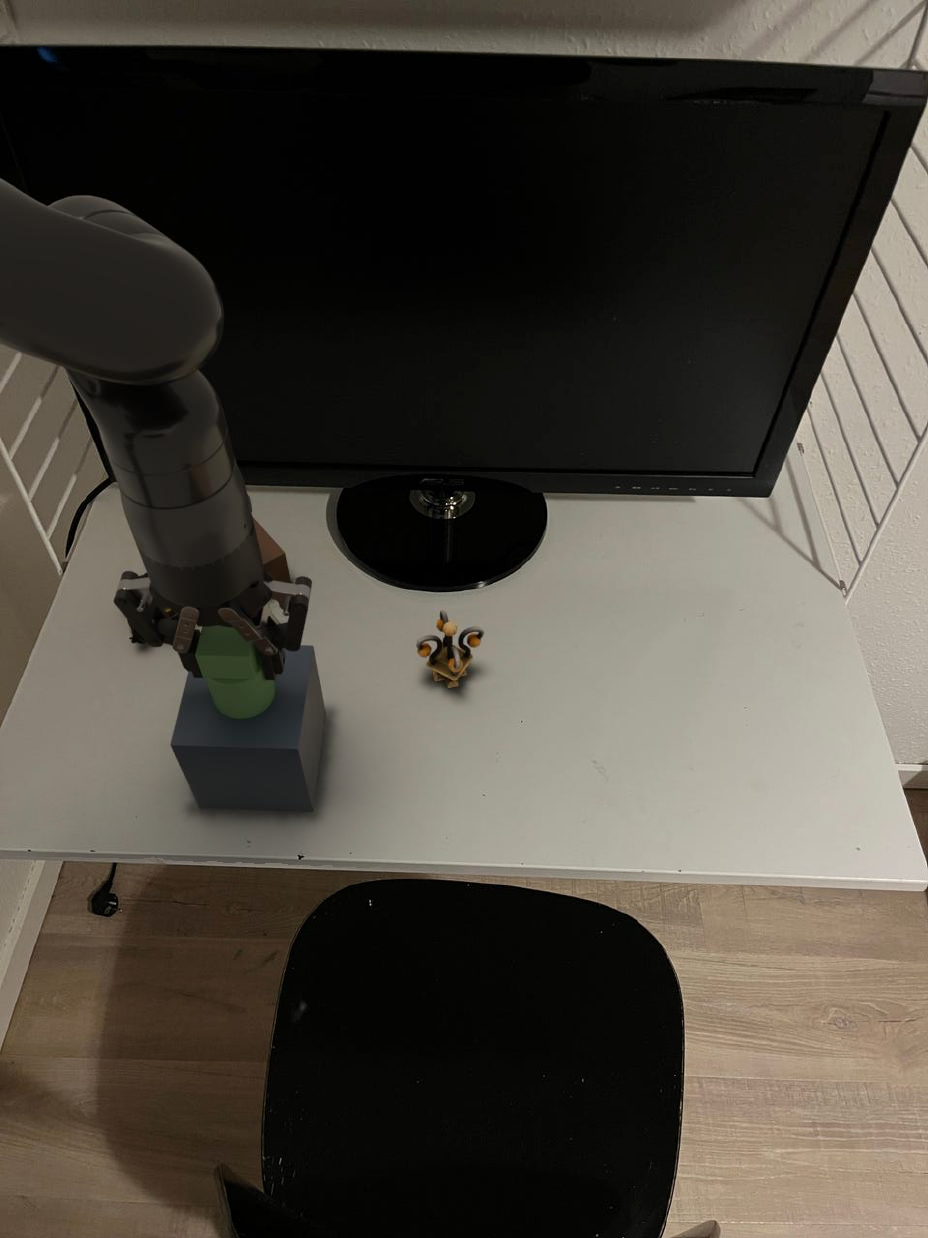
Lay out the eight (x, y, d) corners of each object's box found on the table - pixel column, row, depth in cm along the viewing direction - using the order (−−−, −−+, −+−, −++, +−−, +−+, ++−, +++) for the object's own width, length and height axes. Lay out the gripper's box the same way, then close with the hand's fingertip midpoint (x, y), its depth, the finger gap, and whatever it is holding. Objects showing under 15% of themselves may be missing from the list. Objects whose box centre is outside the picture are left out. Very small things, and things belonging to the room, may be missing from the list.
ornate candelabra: (410, 678, 90) (415, 631, 84) (437, 644, 93) (444, 595, 86) (452, 702, 89) (461, 656, 82) (478, 667, 92) (488, 619, 85)
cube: (198, 808, 81) (170, 745, 73) (219, 710, 88) (195, 641, 79) (313, 811, 82) (298, 748, 73) (326, 714, 88) (313, 645, 79)
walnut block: (224, 621, 94) (214, 590, 90) (185, 574, 98) (174, 541, 94) (291, 584, 97) (285, 552, 93) (251, 539, 101) (244, 507, 97)
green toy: (208, 718, 74) (186, 661, 68) (219, 667, 77) (199, 607, 71) (270, 720, 74) (254, 663, 68) (279, 668, 77) (265, 609, 71)
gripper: (63, 560, 57) (135, 708, 71) (296, 567, 57) (323, 713, 71) (95, 475, 62) (157, 629, 75) (311, 481, 62) (334, 634, 76)
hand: (237, 669), depth 73 cm, fingers closed on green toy, 5 cm apart
